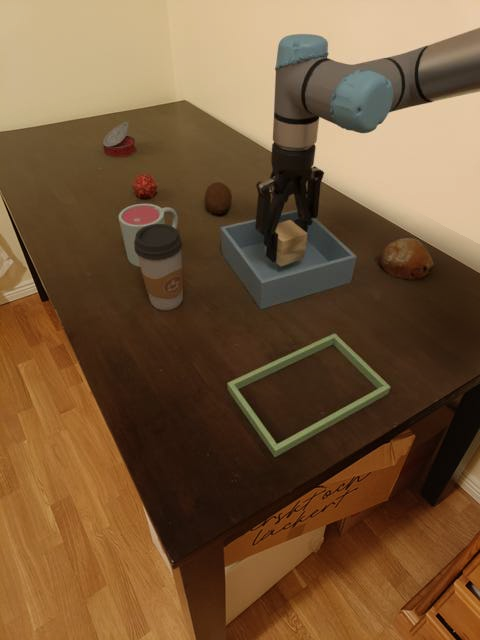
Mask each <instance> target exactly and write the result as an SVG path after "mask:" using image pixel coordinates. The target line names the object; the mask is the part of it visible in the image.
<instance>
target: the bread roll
mask: <svg viewBox="0 0 480 640" xmlns="http://www.w3.org/2000/svg"><path fill="white" fill-rule="evenodd" d="M430 254H431V253H430V252H429V250H428V249H427V248H426V246H425V245H424V244H423V243H422V242H421V241H420V240H419V239H417V238H414V237H405V238H399V239H396V240H395V241H393V242H390V243H389V244H387V245H386V246H385V247H384V249H383V250H382V251H381V254H380V257H379V263H380V266H381V268H382V269H383V270H384V271H385V272H386V273H387V274H388V275H391V276H393V277H395V278H398V279H401V280H409V281H415V280H419V279H422V278H423V277H425V276H426V275H427V274H430V273H432V270H431V267H432V266H434V264H435V263H434V262H433V258H432V257H431V255H430Z"/></svg>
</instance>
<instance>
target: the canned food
mask: <svg viewBox="0 0 480 640" xmlns="http://www.w3.org/2000/svg"><path fill="white" fill-rule="evenodd" d="M129 127H130V123H129V121H124V122H122V123H120V124H118V125H117V126H115V127H114V128H112V130H110V131H109V132H108V133H107V134H106V135H105V136H104V139H103V140H102V146H103V150H104V154H105V156H108V157H111V158H125V157H129V156H132V155H133V154H135V153H136V151H137V148H136V141H135V140H136V139H135V138H134V137H132V136H129V135H127V134H128V131H129Z"/></svg>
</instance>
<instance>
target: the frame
mask: <svg viewBox="0 0 480 640" xmlns="http://www.w3.org/2000/svg"><path fill="white" fill-rule="evenodd" d="M330 346H334V348H336V349H337V350H338V352H340V354H342V355H343V356H344V357H345V359H347V361H349V362H350V363H351V364H352V365H353V366H354V367H355V368H356V370H358V371H359V372H360V373H361V374H362V375H363V376H364V377H365V378H366V379H367V380H368V381H369V382H370V383H371V384H372V385H373V386H374V387H375V390H373V391H372V392H369V393H368V394H366V395H364V396H362V397H360V398H358V399H357V400H355V401H353V402H352V403H350V404H348V405H346V406H344V407H341V408H340V409H338V410H337V411H335V412H333V413H331V414H329V415H328V416H326V417H324V418H322V419H321V420H319V421H317V422H315V423H313V424H311V425H309V426H308V427H306V428H304V429H302V430H300V431H298V432H296V433H295V434H293V435H291V436H289V437H287V438H286V439H284V440H282V441H280V442H278V443H277V442H276V440H275V439H274V438H273V436H272V435H271V434H270V432H269V431H268V430H267V428H266V427H265V425H264V424H263V423H262V421H261V419H260V418H259V417H258V415H257V414H256V412H255V411H254V410H253V408H252V407H251V406H250V404H249V402H247V400H246V398H245V397H244V396H243V394H242V393H241V392H240V389H242V388H244V387H246V386H248V385H250V384H253V383H254V382H256V381H258V380H261V379H263V378H265V377H267V376H269V375H272V374H273V373H275V372H278V371H280V370H282V369H285V368H286V367H288V366H290V365H293V364H294V363H295V364H296V362H299V361H301V360H303V359H305V358H307V357H309V356H311V355H314V354H316V353H318V352H321V351H322V350H324V349H327V348H329V347H330ZM391 389H392V388H391V386H390V385H389V384H388V382H386V381H385V380H384V379H383V378H382V377H381V376H380V375H379V374H378V373H377V372H376V371H375V370H374V369H372V367H371V366H370V365H369V364H367V362H366V361H365V360H363V358H362V357H360V356H359V355H358V354H357V353H356V352H355V351H354V350H353V349H352V348H351V347H350V346H349V345H348V344H346V342H345V341H343V339H341V338H340V337H339V335H337V333H335V332H334V333H332V334H329V335H327V336H326V337H323V338H321V339H319V340H317V341H314V342H313V343H310V344H309V345H306V346H304V347H302V348H299V349H298V350H296V351H293V352H291V353H289V354H287V355H285V356H282V357H281V358H278V359H276V360H274V361H271V362H269V363H268V364H265V365H263V366H261V367H259V368H257V369H254V370H252V371H250V372H248V373H246V374H243V375H241V376H239V377H237V378H235V379H233V380H231V381H229V382H227V391H228V393H229V394H230V395H231V397H232V399H233V400H234V401H235V403H236V404H237V405H238V407H239V408H240V410H241V411H242V413H243V414H244V416H245V417H246V418H247V420H248V421H249V424H251V425H252V427H253V429H254V430H255V432H256V433H257V434H258V436H259V437H260V439H261V440H262V441H263V443H264V444H265V446H266V447H267V449H268V450H269V451H270V453H271V454H272V456H273V457H274V458H276V457H279V456H280V455H282V454H284V453H285V452H287V451H289V450H290V449H292V448H294V447H296V446H298V445H299V444H301V443H303V442H305V441H307V440H308V439H310V438H312V437H314V436H316V435H317V434H319V433H321V432H323V431H324V430H326V429H328V428H330V427H332V426H333V425H335V424H337V423H339V422H341V421H342V420H344V419H346V418H347V417H350V416H352V415H353V414H355V413H357V412H358V411H360V410H363V409H364V408H365V407H368V406H369V405H371V404H373V403H375V402H377V401H378V400H380V399H382V398H383V397H385V396H387V395H389V393H390V391H391Z"/></svg>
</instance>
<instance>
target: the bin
mask: <svg viewBox="0 0 480 640" xmlns="http://www.w3.org/2000/svg"><path fill="white" fill-rule="evenodd" d="M296 219H299V220H300V218H299V217H298V212H297V209H295V210H290V211H286V212H282V213H281V216H280V219H279V222H278V223H281V222H284V221H287V220H291V221H293V222H294V223H295V220H296ZM311 220H312V221H313V223H312V224H311V225H308V230H307V241H306V249H305V257H304V258H303V259H300V260H297V261H295V262H292V263H289V264H286V265H284V266H281V267H280V266H279V265H278V264H277V263H276V262H274V263H273V262H272V261H271V260H270V259H269V258H268V257H267V256H266V253H265V245H264V235H262V234H261V233H260V232H259V231H258V230H256V228H255V226H256V218H254V219H251V220H246V221H241V222H238V223H234V224H229V225H225V226H220V230H219V231H220V251H221V252H220V253H221V254H222V256H223V257H224V259H225V260H226V261H227V263H228V265H229V266H230V267H231V270H232V271H234V274H235V275H236V276H237V278H238V279H239V280H240V282H241V284H242V285H243V286H244V287H245V289H246V290H247V292H248V293H249V295H250V296H251V297H252V299H253V300H254V302H255V303H256V305H257V306H258V308H259V309H260V310H264V309H266V308H270V307H273V306H277V305H279V304H280V305H281V304H285V303H287V302H291V301H293V300H297V299H300V298H304V297H307V296H310V295H314V294H317V293H320V292H323V291H327V290H330V289H331V290H332V289H334V288H337V287H340V286H345V285H347V284H350V283H352V280H353V275H354V272H355V267H356V263H357V258H358V256H357V255H355V253H354V252H353V251H352V250H351V249H350V248H348V247H347V246H346V245H345V244H344V243H343V242H342V241H341V240H340V239H339V238H338V237H336V235H335V234H333V233H332V232H331V231H330V229H328V228H327V227H326V226H325V225H324V224H323V223H322V222H321V221H319V220H318V219H317V218H315V219H314V218H312V219H311Z"/></svg>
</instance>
